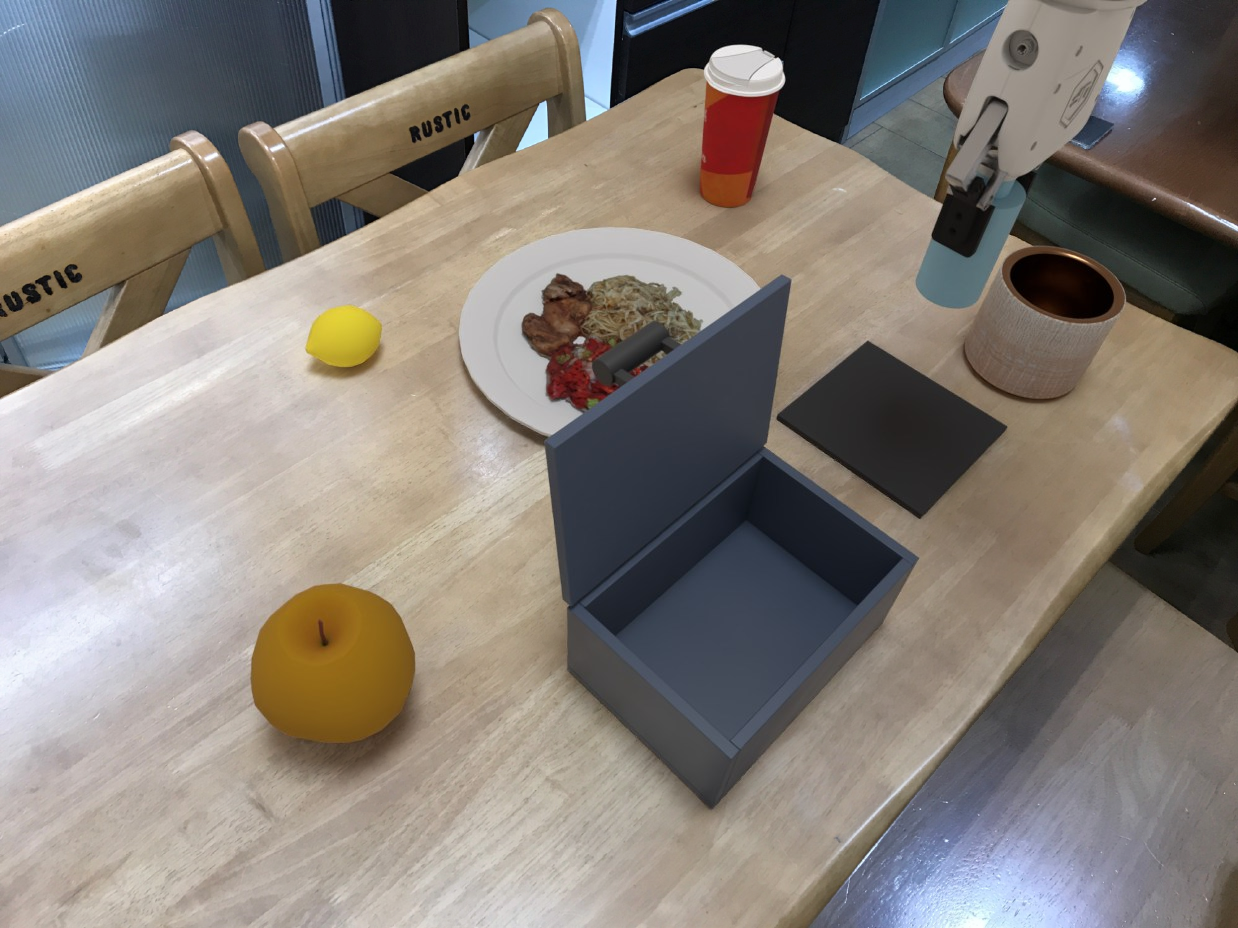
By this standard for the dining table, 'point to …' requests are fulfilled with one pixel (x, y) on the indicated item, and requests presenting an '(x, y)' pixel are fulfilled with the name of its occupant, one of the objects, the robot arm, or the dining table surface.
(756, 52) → the coffee cup
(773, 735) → the chest
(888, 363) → the mat
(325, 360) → the lemon
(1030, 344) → the planter
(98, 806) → the dining table surface
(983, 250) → the bottle
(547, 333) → the plated food
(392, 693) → the apple
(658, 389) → the lid
